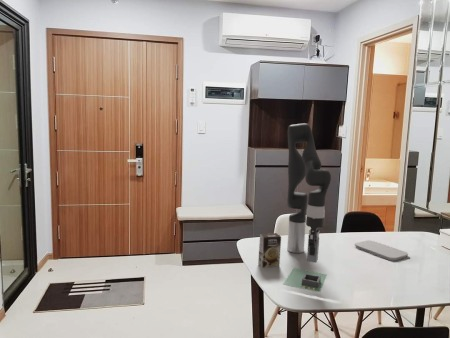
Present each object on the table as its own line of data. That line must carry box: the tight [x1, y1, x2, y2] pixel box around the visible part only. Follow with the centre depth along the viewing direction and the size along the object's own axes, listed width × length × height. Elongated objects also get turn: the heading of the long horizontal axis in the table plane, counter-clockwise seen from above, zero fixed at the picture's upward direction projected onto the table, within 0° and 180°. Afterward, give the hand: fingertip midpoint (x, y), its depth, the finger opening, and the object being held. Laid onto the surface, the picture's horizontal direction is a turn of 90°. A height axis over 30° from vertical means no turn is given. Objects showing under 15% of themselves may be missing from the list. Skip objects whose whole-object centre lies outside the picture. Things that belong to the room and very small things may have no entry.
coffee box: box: [257, 232, 282, 268], centre depth 179 cm, size 9×6×16 cm
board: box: [282, 267, 328, 293], centre depth 164 cm, size 20×16×4 cm
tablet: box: [354, 240, 409, 262], centre depth 206 cm, size 16×26×2 cm, turn 32°
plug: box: [306, 237, 320, 263], centre depth 158 cm, size 4×4×10 cm
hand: (312, 253), depth 158 cm, fingers closed on plug, 4 cm apart
